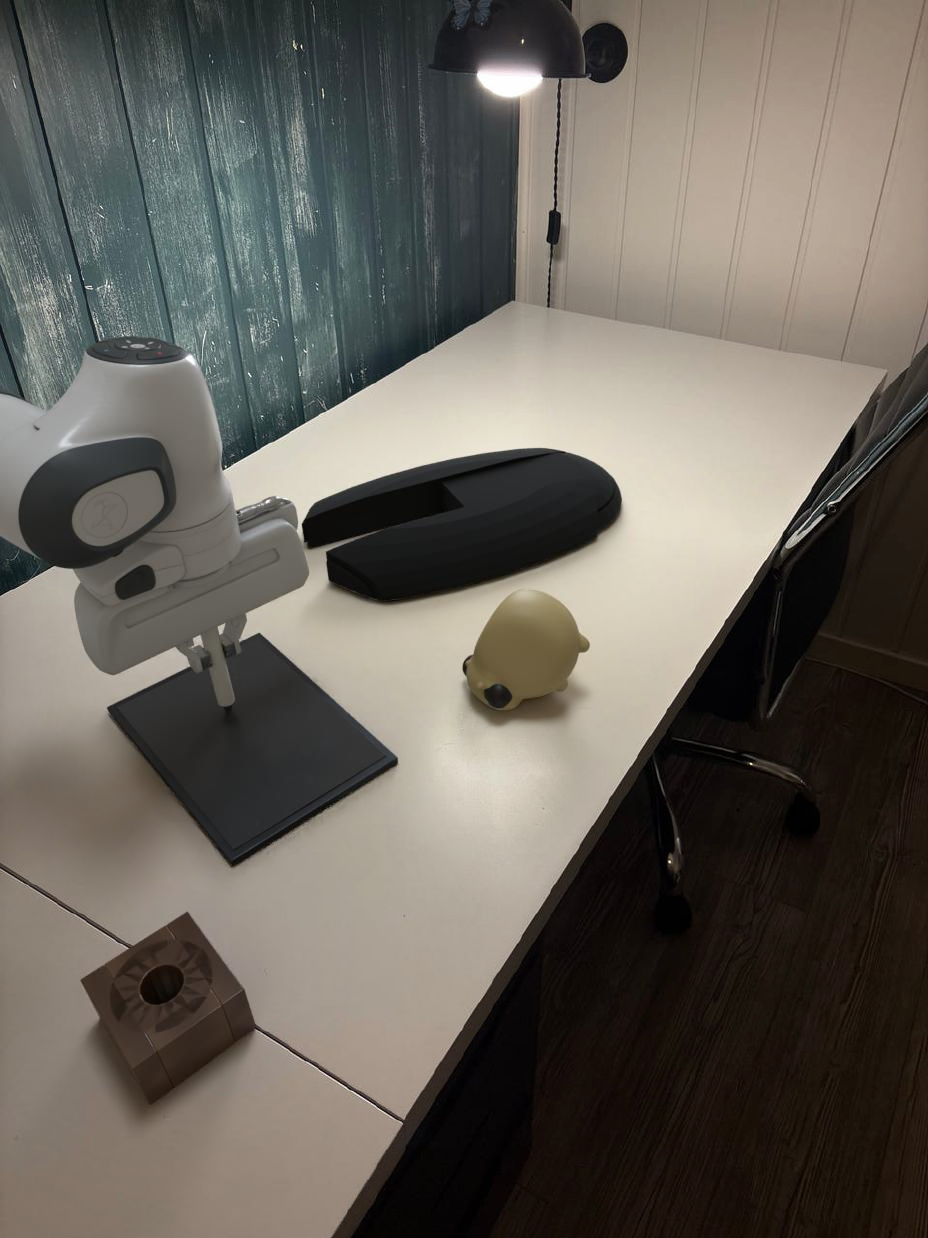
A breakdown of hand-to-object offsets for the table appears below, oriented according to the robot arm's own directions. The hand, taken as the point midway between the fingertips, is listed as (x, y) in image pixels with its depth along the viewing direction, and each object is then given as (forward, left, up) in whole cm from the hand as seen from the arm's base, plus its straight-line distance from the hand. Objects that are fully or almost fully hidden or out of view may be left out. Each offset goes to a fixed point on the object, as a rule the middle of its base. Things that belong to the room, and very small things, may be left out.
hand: (215, 660), depth 84 cm
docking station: (+40, +10, -7) cm, 42 cm away
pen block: (-18, -25, -7) cm, 31 cm away
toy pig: (+24, -16, -7) cm, 30 cm away
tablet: (0, -4, -7) cm, 8 cm away
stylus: (0, 0, -6) cm, 6 cm away
